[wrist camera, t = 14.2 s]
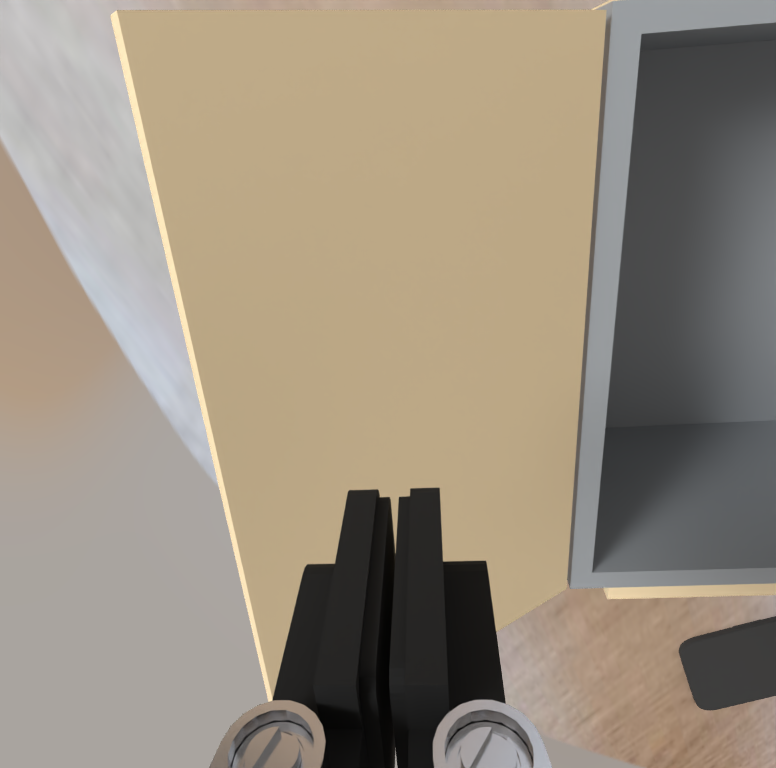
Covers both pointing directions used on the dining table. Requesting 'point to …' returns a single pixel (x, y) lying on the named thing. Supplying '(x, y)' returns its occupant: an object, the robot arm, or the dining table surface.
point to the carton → (681, 308)
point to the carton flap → (378, 272)
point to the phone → (732, 664)
